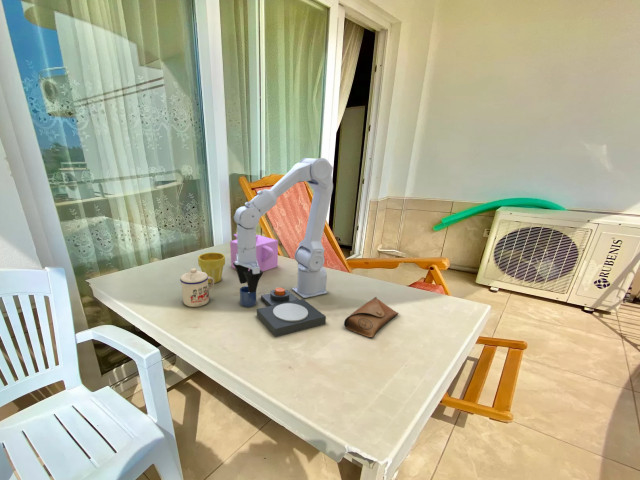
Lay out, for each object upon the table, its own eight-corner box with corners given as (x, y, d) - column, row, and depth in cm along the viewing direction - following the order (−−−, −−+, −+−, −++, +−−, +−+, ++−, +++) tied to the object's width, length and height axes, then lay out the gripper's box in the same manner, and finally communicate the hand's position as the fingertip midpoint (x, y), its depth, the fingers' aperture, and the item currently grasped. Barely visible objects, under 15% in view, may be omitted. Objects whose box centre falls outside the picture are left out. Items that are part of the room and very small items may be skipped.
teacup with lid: (191, 310, 96) (188, 276, 92) (177, 301, 103) (174, 268, 98) (222, 298, 103) (220, 266, 99) (207, 290, 110) (204, 260, 106)
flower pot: (231, 277, 120) (230, 254, 117) (215, 287, 112) (214, 262, 109) (210, 273, 126) (209, 250, 122) (194, 281, 117) (192, 258, 114)
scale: (302, 305, 96) (302, 297, 95) (325, 324, 86) (326, 315, 85) (256, 316, 91) (256, 307, 90) (275, 337, 81) (275, 327, 80)
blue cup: (252, 298, 103) (252, 284, 101) (259, 305, 98) (258, 291, 96) (237, 301, 101) (237, 287, 99) (243, 308, 96) (243, 294, 94)
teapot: (248, 255, 145) (247, 227, 140) (285, 269, 126) (286, 237, 122) (222, 263, 137) (220, 232, 132) (258, 279, 118) (257, 244, 113)
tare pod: (287, 293, 105) (287, 285, 104) (299, 303, 98) (299, 294, 97) (260, 298, 102) (260, 290, 101) (271, 309, 95) (271, 300, 94)
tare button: (281, 291, 101) (281, 286, 101) (286, 294, 98) (286, 290, 98) (273, 292, 100) (273, 288, 99) (277, 296, 97) (277, 292, 97)
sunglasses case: (374, 338, 78) (363, 314, 78) (350, 340, 83) (340, 318, 83) (400, 312, 89) (391, 291, 90) (378, 316, 95) (369, 296, 95)
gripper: (226, 242, 98) (228, 281, 102) (243, 255, 85) (244, 298, 90) (247, 239, 100) (247, 277, 105) (266, 251, 87) (266, 294, 92)
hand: (247, 287), depth 97 cm, fingers open, 7 cm apart
